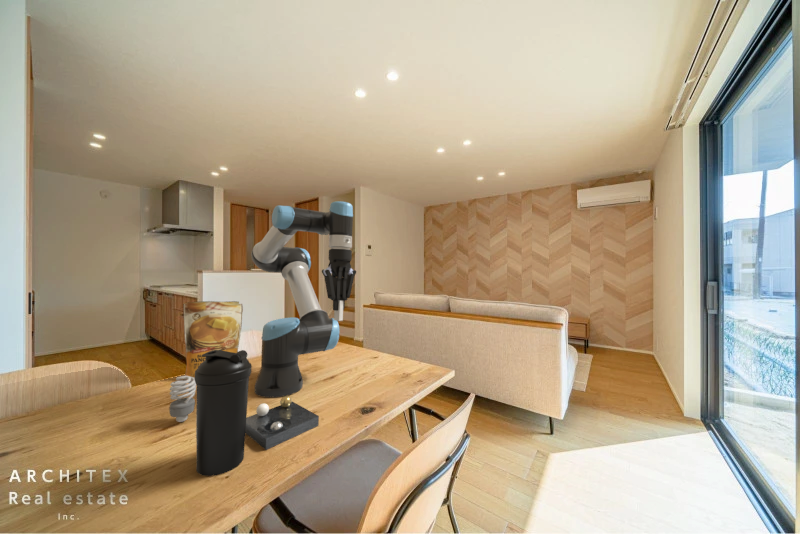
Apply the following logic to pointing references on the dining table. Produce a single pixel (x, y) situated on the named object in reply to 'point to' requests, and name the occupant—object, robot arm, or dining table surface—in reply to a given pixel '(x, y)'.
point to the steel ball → (276, 426)
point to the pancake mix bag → (210, 330)
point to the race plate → (291, 418)
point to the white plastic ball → (262, 409)
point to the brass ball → (285, 401)
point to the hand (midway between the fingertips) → (338, 320)
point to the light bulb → (182, 398)
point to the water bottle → (221, 411)
